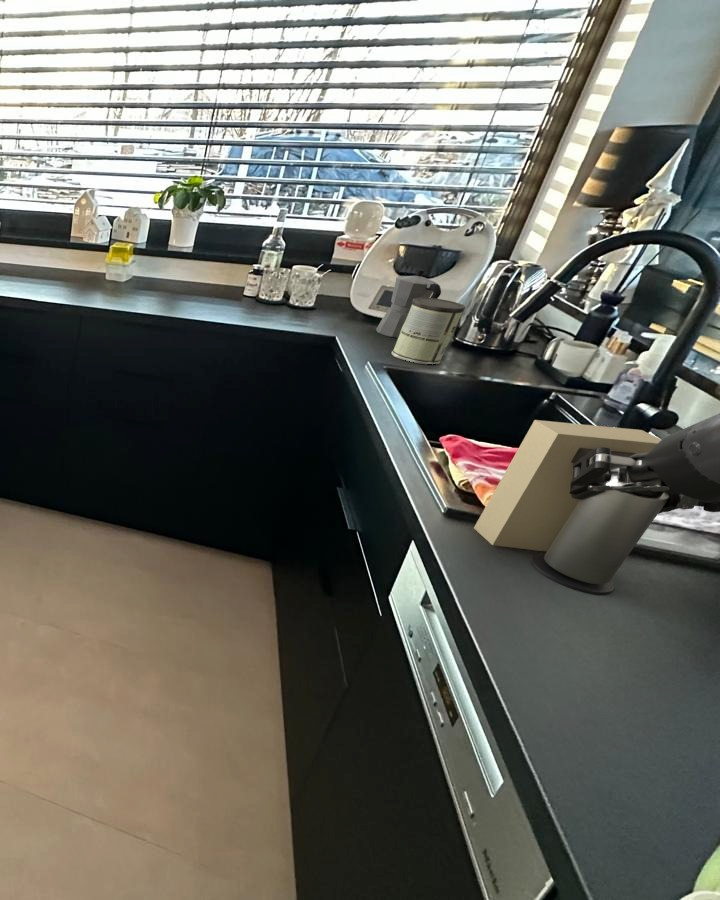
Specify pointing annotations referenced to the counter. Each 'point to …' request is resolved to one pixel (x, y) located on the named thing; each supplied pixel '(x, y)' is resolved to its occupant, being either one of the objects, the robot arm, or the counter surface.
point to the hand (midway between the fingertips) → (611, 498)
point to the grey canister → (603, 533)
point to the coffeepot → (406, 301)
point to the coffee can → (427, 330)
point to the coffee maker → (550, 489)
